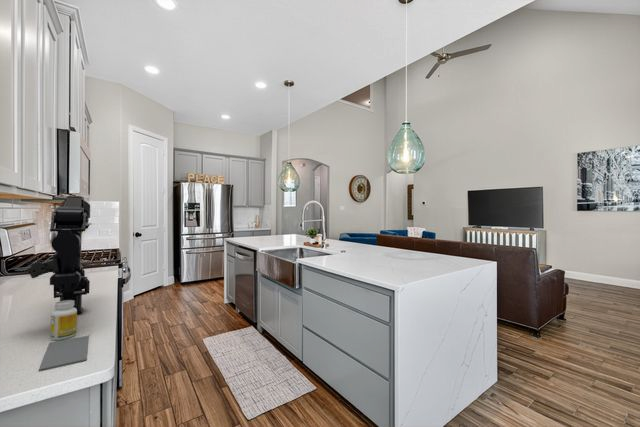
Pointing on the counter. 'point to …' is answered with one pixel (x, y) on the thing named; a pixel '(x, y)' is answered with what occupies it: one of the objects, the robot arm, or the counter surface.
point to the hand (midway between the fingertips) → (67, 302)
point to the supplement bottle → (63, 320)
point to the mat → (65, 353)
